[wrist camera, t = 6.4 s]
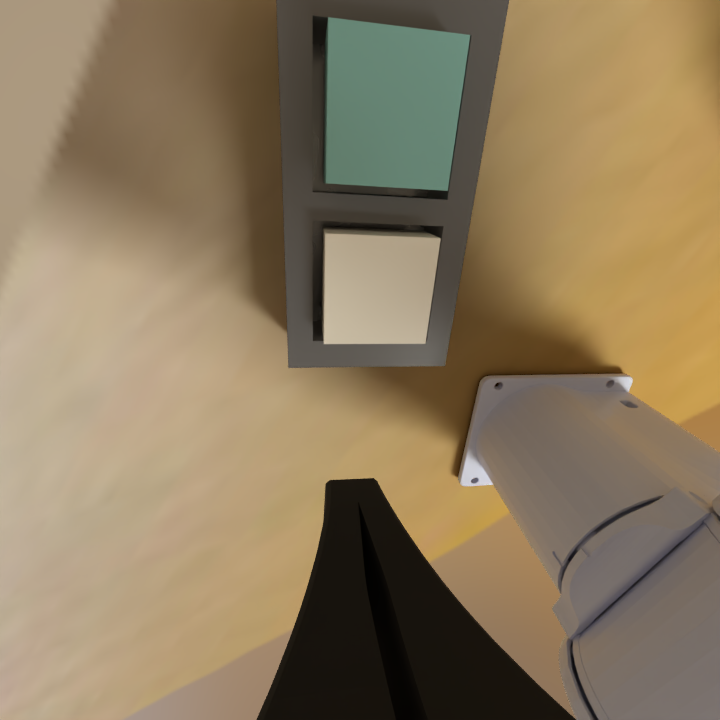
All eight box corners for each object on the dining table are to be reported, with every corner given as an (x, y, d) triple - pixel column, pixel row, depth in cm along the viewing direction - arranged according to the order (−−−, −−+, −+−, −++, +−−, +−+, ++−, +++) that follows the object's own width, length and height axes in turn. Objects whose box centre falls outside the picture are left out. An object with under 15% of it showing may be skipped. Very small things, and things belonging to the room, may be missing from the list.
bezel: (477, 18, 13) (511, -13, 11) (428, 344, 18) (445, 365, 16) (280, -8, 12) (274, -48, 10) (290, 344, 17) (288, 367, 15)
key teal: (446, 56, 12) (470, 35, 10) (429, 189, 14) (447, 190, 12) (324, 42, 12) (328, 17, 10) (323, 182, 13) (325, 183, 12)
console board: (466, 29, 14) (477, 18, 13) (423, 336, 19) (428, 344, 18) (281, 5, 13) (280, -8, 12) (291, 336, 18) (290, 344, 17)
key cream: (424, 231, 15) (440, 238, 13) (412, 325, 16) (425, 344, 14) (322, 226, 14) (325, 233, 12) (321, 325, 16) (323, 344, 14)
